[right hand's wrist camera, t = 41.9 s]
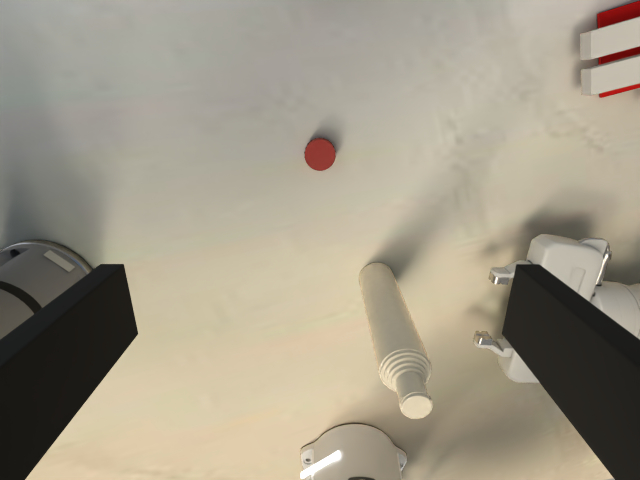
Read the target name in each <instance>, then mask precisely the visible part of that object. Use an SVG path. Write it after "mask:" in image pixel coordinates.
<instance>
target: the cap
mask: <svg viewBox="0 0 640 480" xmlns="http://www.w3.org/2000/svg"><path fill="white" fill-rule="evenodd" d="M335 157H336V156H335V150H334V146H333V145H332V143H331V142H329V141H328V140H326V139H324V138H315V139H314V140H311V142H310V143H308V145H307V147H306V150H305V160H306V162H307V164H308V165H309V166H310V167H311V168H312V169H314V170H318V171H322V170H326V169H328V168H329V167H330V166H331V165H332V164H333V162H334V160H335Z"/></svg>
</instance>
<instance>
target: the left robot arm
mask: <svg viewBox="0 0 640 480" xmlns="http://www.w3.org/2000/svg"><path fill="white" fill-rule="evenodd" d="M611 256H612V251H610V246H609V243H608V242H607V241H606V240H605V239H602V238H591V237H587V238H583V239H581V240H579V241H578V240H574V239H571V238H566V237H561V236H556V235H548V234H541V235H539V236H537V237H535V238H533V239H532V241H531V244H530V247H529V251H528V254H527V258H526V261H523V260H518V261H516V262H514V263H512V264H509V265H507V266H505V267H504V268H497V267H492V268H491V271H490V275H489V280H491V282H492V283H495V284H500V283H501V284H506V285H508V282H509V279H511V278H513V277H514V273H515V268H516V264H540V265H541V266H542V267H544V268H545V269H546V270H548V271H549V272H550V273H552V274H553V275H554V276H556V277H557V278H558V279H560V280H561V281H562V282H564V283H565V284H566V285H568V286H569V287H570V288H572V289H573V290H574V291H576V292H577V293H578V294H580V295H581V296H582V297H584V298H585V299H586V300H588V301H589V302H590V303H592V304H593V305H594V306H596V307H597V308H598V309H600V310H601V311H602V312H604V313H605V314H606V315H608V316H609V317H610V318H612V319H613V320H614V321H616V322H617V323H618V324H620V325H621V326H622V327H624V328H625V329H626V330H628V331H629V332H630V333H632V334H633V335H634V336H636V337H637V338H638V339H640V283H639V284H633V285H625V284H622V283H619V282H612V281H603V278H604V275H605V272H606V267H607V265H608V262H609V261H610V259H611ZM473 342H474V344H475V346H476V347H478V348H489V349H490V350H492V351H493V352H495V353H496V354H498V355H499V356H498V360H497V362H498V364H499V366H500V367H501V369H502V371H503V372H504V373H505V375H506V376H507V377H508V378H509V379H511V380H512V381H514V382H520V383H540V382H539V381H538V380H537V378H536V377H535V376H534V375H533V373H532V372H531V371H530V369H529V368H528V367H527V366H526V364H525V363H524V362H523V360H522V359H521V358H520V357H519V355H518V354H517V353H516V351H515V350H514V349H513V348H512V346H511V345H510V344H509V342H508V341H507V340H506V339H505V337H504V339H497V341H496V342H494V341H493V339H492V338H491V336H489V334H488V332H487V331H482V332H479V331H475V334H474V338H473ZM300 453H301V461H302V465H303V470H304V471H303V472H301V478H304V477H305V480H402V474H401V473H402V470H403V468H404V466H405V464H406V462H407V455H406V453H405V452H404V451H403V450H401V449H399V448H398V447H396V446H395V445H394V444H393V443H392V441H391V440H390V438H389V437H388V436H387V435H386V434H385V433H383V432H382V431H380V430H379V429H376V428H374V427H371V426H368V425H362V424H347V425H342V426H338V427H335V428H333V429H331V430H329V431H327V432H326V433H324V434H323V435H322V436H321V437H320V438H319V439H318V440H317V441H316V442H314V443H312V444H309V445H307V446H305V447H303V448H302V449H301V451H300Z"/></svg>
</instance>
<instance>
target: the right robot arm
mask: <svg viewBox="0 0 640 480" xmlns="http://www.w3.org/2000/svg"><path fill="white" fill-rule="evenodd" d="M137 335H138V331H137V326H136V321H135V316H134V312H133V307H132V302H131V297H130V292H129V288H128V283H127V278H126V273H125V268H124V264H100V265H99V266H98V267H96V268H95V269H94V270H92V269H91V267H90V266H89V265H88V264H87V263H86V262H85V261H84V260H83V259H82V258H81V257H80V256H79V255H77V254H76V253H74V252H73V251H71V250H70V249H68V248H66V247H64V246H61V245H59V244H56V243H53V242H49V241H44V240H26V241H21V242H18V243H15V244H13V245H11V246H9V247H7V248H5V249H3V250H1V251H0V480H25V479H26V477H27V476H28V475H29V474H30V472H31V471H32V470H33V468H34V467H35V466H36V465H37V463H38V462H39V461H40V459H41V458H42V457H43V456H44V454H45V453H46V452H47V450H48V449H49V448H50V447H51V445H52V444H53V443H54V441H55V440H56V439H57V438H58V436H59V435H60V434H61V432H62V431H63V430H64V429H65V427H66V426H67V425H68V423H69V422H70V421H71V420H72V418H73V417H74V416H75V414H76V413H77V412H78V411H79V409H80V408H81V407H82V405H83V404H84V403H85V402H86V400H87V399H88V398H89V396H90V395H91V394H92V393H93V391H94V390H95V389H96V387H97V386H98V385H99V384H100V382H101V381H102V380H103V378H104V377H105V376H106V375H107V373H108V372H109V371H110V369H111V368H112V367H113V366H114V364H115V363H116V362H117V360H118V359H119V358H120V357H121V355H122V354H123V353H124V351H125V350H126V349H127V348H128V346H129V345H130V344H131V342H132V341H133V340H134V339H135V337H136V336H137ZM502 335H503V336H504V337H505V339H506V340H507V341H508V342H509V344H510V345H511V346H512V348H513V349H514V350H515V351H516V353H517V354H518V355H519V357H520V358H521V359H522V360H523V362H524V363H525V364H526V366H527V367H528V368H529V369H530V371H531V372H532V373H533V375H534V376H535V377H536V378H537V380H538V381H539V382H540V384H541V385H542V386H543V387H544V389H545V390H546V391H547V393H548V394H549V395H550V396H551V398H552V399H553V400H554V402H555V403H556V404H557V405H558V407H559V408H560V409H561V411H562V412H563V413H564V414H565V416H566V417H567V418H568V420H569V421H570V422H571V423H572V425H573V426H574V427H575V429H576V430H577V431H578V432H579V434H580V435H581V436H582V438H583V439H584V440H585V441H586V443H587V444H588V445H589V447H590V448H591V449H592V450H593V452H594V453H595V454H596V456H597V457H598V458H599V459H600V461H601V462H602V463H603V465H604V466H605V467H606V468H607V470H608V471H609V472H610V474H611V475H612V476H613V477H614V479H615V480H640V339H638V338H637V337H636V336H634V335H633V334H632V333H630V332H629V331H628V330H626V329H625V328H624V327H622V326H621V325H620V324H618V323H617V322H616V321H614V320H613V319H612V318H610V317H609V316H608V315H606V314H605V313H604V312H602V311H601V310H600V309H598V308H597V307H596V306H594V305H593V304H592V303H590V302H589V301H588V300H586V299H585V298H584V297H582V296H581V295H580V294H578V293H577V292H576V291H574V290H573V289H572V288H570V287H569V286H568V285H566V284H565V283H564V282H562V281H561V280H560V279H558V278H557V277H556V276H554V275H553V274H552V273H550V272H549V271H548V270H546V269H545V268H544V267H542V266H541V265H540V264H516V268H515V273H514V278H513V283H512V288H511V292H510V297H509V302H508V307H507V312H506V316H505V321H504V326H503V331H502Z"/></svg>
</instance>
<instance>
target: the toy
mask: <svg viewBox="0 0 640 480" xmlns="http://www.w3.org/2000/svg"><path fill="white" fill-rule="evenodd" d="M597 22H598V29H595V30H592V31H588V32H585V33H581V34H580V52H581V60H590V59H594V58H598V59H599V65H597V66H593V67H589V68H586V69H582V70H581V95H595V94H599V97H601V98H602V97H606V96H610V95H614V94H617V93H621V92H625V91H629V90H633V89H636V88H640V1H637V2H634V3H631V4H627V5H624V6H621V7H618V8H615V9H612V10H608V11H605V12H602V13H599V14H597Z"/></svg>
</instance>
